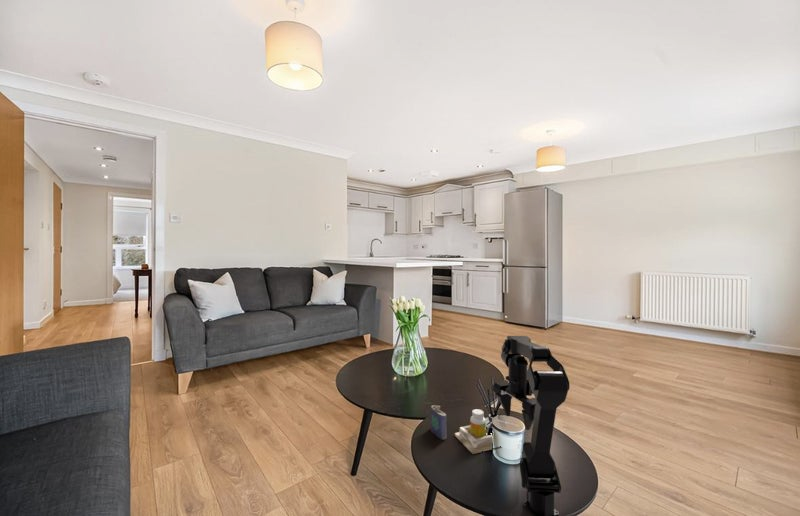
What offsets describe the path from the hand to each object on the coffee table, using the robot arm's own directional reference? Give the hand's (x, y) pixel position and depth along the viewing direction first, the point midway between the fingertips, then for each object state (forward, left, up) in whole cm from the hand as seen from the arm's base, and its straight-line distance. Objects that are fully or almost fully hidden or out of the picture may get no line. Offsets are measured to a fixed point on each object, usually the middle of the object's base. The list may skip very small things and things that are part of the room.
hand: (517, 422), depth 106 cm
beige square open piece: (+15, +5, -13) cm, 20 cm away
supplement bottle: (+15, +5, -12) cm, 20 cm away
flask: (+24, +16, -13) cm, 32 cm away
